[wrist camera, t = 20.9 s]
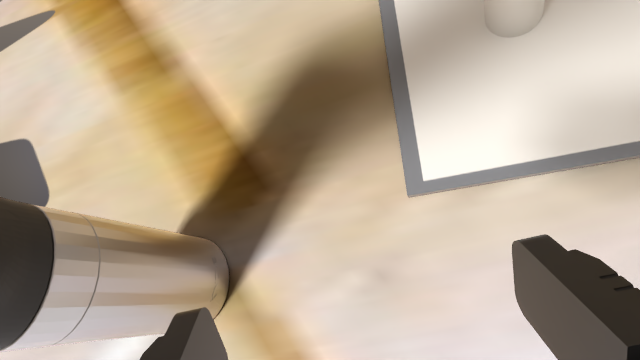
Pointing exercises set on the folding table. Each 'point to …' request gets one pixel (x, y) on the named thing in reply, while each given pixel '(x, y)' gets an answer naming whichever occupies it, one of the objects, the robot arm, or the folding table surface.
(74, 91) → the folding table surface
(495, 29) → the marker
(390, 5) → the clipboard
